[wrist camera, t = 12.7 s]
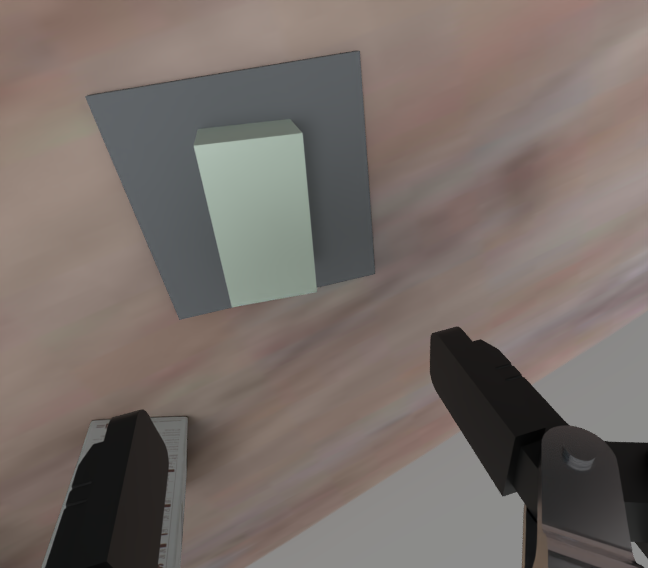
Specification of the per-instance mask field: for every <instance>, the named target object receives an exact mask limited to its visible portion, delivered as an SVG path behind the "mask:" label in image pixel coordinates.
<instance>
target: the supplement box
mask: <svg viewBox="0 0 648 568" xmlns="http://www.w3.org/2000/svg"><path fill="white" fill-rule="evenodd" d="M150 419H151V420H152V422H153V424H154V426H155V427H156V429H157V431H158V432H159V434H160V436H161V438H162V439H163V441H164V443H165V445H166V448H167V452H168V458H169V470H168V479H167V488H166V497H165V506H164V515H163V524H162V533H161V542H160V551H159V560H158V568H180V563H181V549H182V535H183V521H184V506H185V490H186V475H187V468H186V464H187V427H188V418H187V417H157V418H150ZM110 420H111V419H110ZM110 420H94V421H92V422H91V423H90V426H89V429H88V432H87V435H86V438H85V441H84V444H83V447H82V450H81V453H80V456H79V459H78V462H77V465H76V468H75V471H74V474H73V477H72V480H71V482H70V485H69V488H68V491H67V494H66V497H65V500H64V503H63V506H62V509H61V512H60V515H59V517H58V520H57V523H56V526H55V529H54V532H53V535H52V538H51V540H50V543H49V546H48V549H47V552H46V555H45V558H44V561H43V564H42V567H41V568H45V566H46V563H47V560H48V557H49V554H50V551H51V548H52V545H53V541H54V538H55V535H56V532H57V529H58V526H59V523H60V520H61V517H62V514H63V511H64V509H66V502H67V499H68V495H69V492H70V491H71V490H72V487H71V486H72V483H73V480H74V477H75V474H76V471H77V468H78V465H79V463H80V462H81V461H82V459H83V458H84V456H85V455H86V453H87V452H88V451H89V449H90V448H91V446H92V445H93V444H95V443H99V442H103V441H104V438H105V434H106V431H107V427H108V424H109V421H110Z"/></svg>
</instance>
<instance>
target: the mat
mask: <svg viewBox="0 0 648 568" xmlns="http://www.w3.org/2000/svg"><path fill="white" fill-rule="evenodd" d="M85 97H86V100H87V102H88V104H89V107H90V109H91V112H92V114H93V116H94V119H95V121H96V123H97V126H98V128H99V130H100V133H101V135H102V138H103V140H104V142H105V145H106V147H107V149H108V152H109V154H110V156H111V159H112V161H113V164H114V166H115V168H116V171H117V173H118V175H119V178H120V180H121V182H122V185H123V187H124V190H125V192H126V194H127V197H128V199H129V201H130V204H131V206H132V208H133V211H134V213H135V216H136V218H137V220H138V223H139V225H140V227H141V230H142V232H143V234H144V237H145V239H146V242H147V244H148V246H149V249H150V251H151V253H152V256H153V258H154V261H155V263H156V265H157V268H158V270H159V272H160V275H161V277H162V279H163V282H164V284H165V287H166V289H167V291H168V294H169V296H170V298H171V301H172V303H173V305H174V308H175V310H176V313H177V315H178V317H179V320H181V319H185V318H189V317H193V316H198V315H202V314H206V313H211V312H215V311H219V310H223V309H228V308H232V306H231V302H230V297H229V293H228V289H227V285H226V281H225V276H224V272H223V268H222V264H221V259H220V255H219V251H218V247H217V243H216V238H215V234H214V230H213V226H212V221H211V217H210V213H209V209H208V204H207V200H206V196H205V192H204V188H203V183H202V179H201V175H200V171H199V166H198V162H197V158H196V154H195V150H194V142H195V138H196V134H197V130H198V129H203V128H212V127H221V126H230V125H239V124H248V123H258V122H267V121H276V120H285V119H291V120H292V122H293V123H294V124H295V125H296V126H297V127H298V128H299V130H300V131H301V132H302V133H303V143H304V154H305V165H306V176H307V187H308V198H309V209H310V220H311V231H312V242H313V253H314V264H315V275H316V286H317V287H321V286H326V285H330V284H334V283H338V282H343V281H347V280H351V279H355V278H360V277H364V276H368V275H373V274H375V265H374V251H373V237H372V222H371V208H370V193H369V179H368V164H367V150H366V136H365V121H364V107H363V92H362V78H361V63H360V51H352V52H346V53H340V54H334V55H328V56H322V57H316V58H310V59H304V60H298V61H292V62H286V63H280V64H274V65H268V66H262V67H255V68H249V69H243V70H237V71H231V72H225V73H219V74H213V75H207V76H201V77H195V78H189V79H183V80H177V81H171V82H165V83H159V84H153V85H147V86H141V87H135V88H129V89H123V90H117V91H111V92H105V93H99V94H93V95H88V96H85Z"/></svg>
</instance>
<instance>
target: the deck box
mask: <svg viewBox="0 0 648 568" xmlns="http://www.w3.org/2000/svg"><path fill="white" fill-rule="evenodd" d="M194 150H195V154H196V158H197V162H198V166H199V171H200V175H201V179H202V183H203V188H204V192H205V196H206V200H207V204H208V209H209V213H210V217H211V221H212V226H213V230H214V234H215V238H216V243H217V247H218V251H219V255H220V259H221V264H222V268H223V272H224V276H225V281H226V285H227V289H228V293H229V297H230V302H231V306H232V307H237V306H242V305H248V304H254V303H259V302H265V301H270V300H276V299H282V298H287V297H293V296H298V295H304V294H309V293H315V292H317V286H316V275H315V264H314V253H313V242H312V231H311V220H310V209H309V198H308V187H307V176H306V165H305V154H304V143H303V133H302V132H301V131H300V130H299V128H298V127H297V126H296V125H295V124H294V123H293V122H292V120H291V119H285V120H276V121H267V122H258V123H248V124H239V125H230V126H221V127H212V128H203V129H198V130H197V134H196V138H195V142H194Z"/></svg>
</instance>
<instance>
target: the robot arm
mask: <svg viewBox="0 0 648 568" xmlns="http://www.w3.org/2000/svg"><path fill="white" fill-rule="evenodd" d="M430 375H431V380H432V383H433V385H434V388H435V390H436V392H437V393H438V395H439V397H440V398H441V400H442V401H443V403H444V404H445V406H446V408H447V409H448V411H449V412H450V414H451V416H452V417H453V419H454V420H455V422H456V423H457V425H458V427H459V428H460V430H461V431H462V433H463V434H464V436H465V438H466V439H467V441H468V442H469V444H470V445H471V447H472V449H473V450H474V452H475V454H476V455H477V456H478V458H479V460H480V461H481V463H482V464H483V466H484V468H485V469H486V471H487V472H488V474H489V476H490V477H491V479H492V480H493V482H494V483H495V485H496V487H497V488H498V490H499V491H500V493H501V495H502V496H506V495H509V494H512V493H515V492H517V493H518V494H519V496H520V497H521V499H522V500H523V501H524V503H525V504H524V513H523V543H522V544H523V545H522V568H644V567H643V566H642V565H639V564H637V563H636V561H635V559H634V557H633V553H632V547H631V542H635V543H636V544H637V545H638V547H639V548H640V549H641V550H642V552H643V553H644V554H645V556H646V557H647V558H648V443H634V442H607V441H603V440H602V439H601V438H599V437H598V436H596V435H595V434H593V433H591V432H589V431H587V430H585V429H582V428H579V427H574V426H570V425H568V424H567V423H566V422H565V421H564V420H563V419H562V418H561V417H560V416H559V414H558V413H557V412H556V411H555V410H554V409H553V408H552V407H551V406H550V405H549V404H548V403H547V401H546V400H545V399H544V398H543V397H542V396H541V395H540V394H539V393H538V392H537V391H536V390H535V389H534V387H533V386H532V385H531V384H530V383H529V382H528V381H527V380H526V379H525V378H524V377H522V375H521V373H520V372H519V371H518V370H517V369H516V368H515V367H514V366H512V365H511V362H510V361H509V360H508V359H507V358H506V357H505V356H504V355H503V354H502V353H501V352H500V350H499V349H497V348H495V347H493V346H492V345H490V344H488V343H486V342H485V341H483V340H481V339H480V340H477V341H473V342H472V340H471V339H470V338H469V337H468V336H467V335H466V333H465V332H464V331H463V330H462V329H461V328H460V327H453V328H450V329H446V330H442V331H438V332H435V333H432V334H431V340H430ZM168 470H169V458H168V452H167V448H166V445H165V443H164V441H163V439H162V438H161V436H160V434H159V432H158V431H157V429H156V427H155V426H154V424H153V422H152V420H151V419H150V417H149V415H148V413H147V412H146V411H145V410H143V409H142V410H138V411H135V412H131V413H127V414H123V415H120V416H116V417H113V418H111V420H110V421H109V424H108V427H107V431H106V434H105V438H104V441H103V442H99V443H95V444H93V445H92V446H91V448H90V449H89V451H88V452H87V453H86V455H85V456H84V458H83V459H82V461H81V462H80V463H79V465H78V468H77V471H76V474H75V477H74V480H73V483H72V486H71V487H72V490H71V491H70V492H69V495H68V499H67V502H66V509H64V511H63V514H62V517H61V520H60V523H59V526H58V529H57V532H56V535H55V538H54V541H53V545H52V548H51V551H50V554H49V557H48V560H47V563H46V566H45V568H158V560H159V551H160V542H161V533H162V524H163V515H164V506H165V497H166V488H167V479H168Z"/></svg>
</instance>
